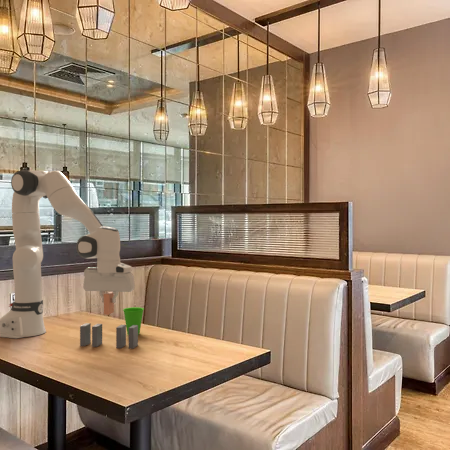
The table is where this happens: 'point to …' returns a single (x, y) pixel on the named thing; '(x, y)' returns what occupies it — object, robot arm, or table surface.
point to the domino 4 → (120, 336)
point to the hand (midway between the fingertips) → (108, 302)
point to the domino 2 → (96, 335)
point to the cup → (133, 317)
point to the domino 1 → (85, 334)
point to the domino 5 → (133, 336)
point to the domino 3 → (108, 303)
